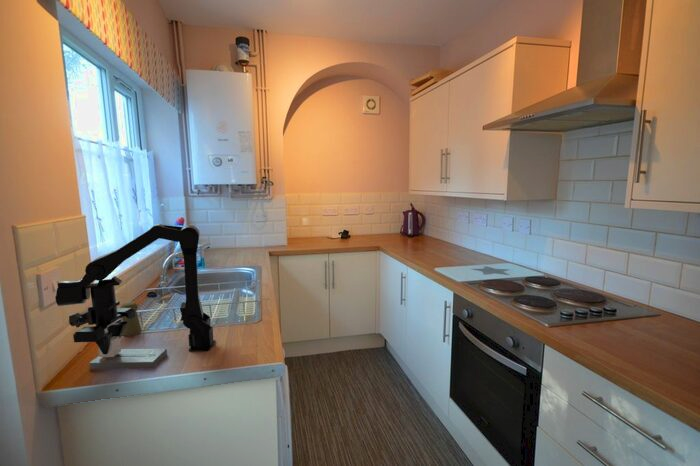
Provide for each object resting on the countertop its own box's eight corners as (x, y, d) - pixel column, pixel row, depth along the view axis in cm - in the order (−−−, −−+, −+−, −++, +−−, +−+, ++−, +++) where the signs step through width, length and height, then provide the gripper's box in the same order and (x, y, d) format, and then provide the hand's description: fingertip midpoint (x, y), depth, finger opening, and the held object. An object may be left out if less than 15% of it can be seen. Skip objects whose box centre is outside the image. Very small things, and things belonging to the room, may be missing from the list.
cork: (137, 327, 129) (134, 298, 127) (144, 331, 125) (141, 302, 124) (119, 332, 124) (115, 303, 123) (125, 337, 121) (122, 307, 119)
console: (167, 354, 108) (166, 348, 108) (153, 368, 100) (152, 361, 100) (108, 355, 108) (107, 349, 108) (90, 369, 100) (89, 362, 100)
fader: (120, 351, 105) (119, 336, 105) (113, 357, 102) (111, 341, 101) (107, 351, 105) (105, 336, 105) (99, 357, 102) (97, 341, 101)
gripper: (98, 291, 110) (103, 337, 113) (49, 313, 92) (57, 368, 94) (133, 290, 110) (138, 336, 113) (91, 312, 92) (98, 367, 94)
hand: (109, 350), depth 104 cm, fingers closed on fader, 3 cm apart
